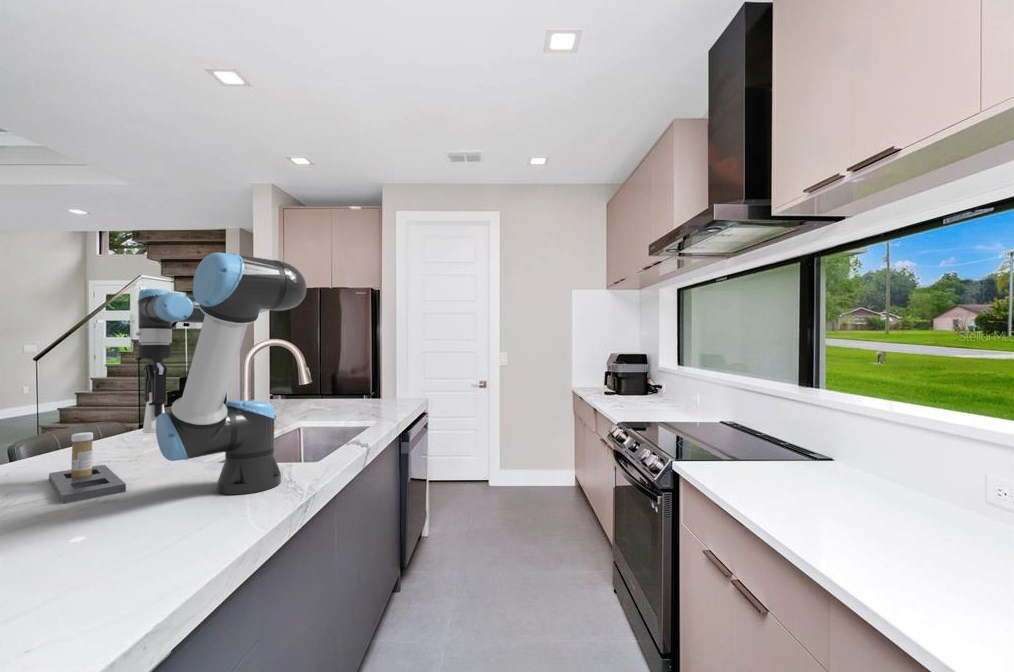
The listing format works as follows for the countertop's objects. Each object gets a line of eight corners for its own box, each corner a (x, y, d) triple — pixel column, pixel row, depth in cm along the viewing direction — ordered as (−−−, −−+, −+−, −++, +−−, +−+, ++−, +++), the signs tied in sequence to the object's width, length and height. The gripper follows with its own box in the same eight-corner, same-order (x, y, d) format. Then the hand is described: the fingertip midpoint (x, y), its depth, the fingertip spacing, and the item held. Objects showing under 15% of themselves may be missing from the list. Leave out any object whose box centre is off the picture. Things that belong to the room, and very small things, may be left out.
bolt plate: (125, 491, 120) (125, 483, 120) (62, 503, 111) (62, 495, 111) (104, 471, 140) (104, 464, 140) (49, 480, 131) (49, 473, 131)
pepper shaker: (153, 429, 132) (153, 391, 132) (171, 429, 131) (171, 391, 132) (137, 433, 126) (137, 393, 126) (156, 433, 126) (156, 393, 126)
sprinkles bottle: (69, 481, 130) (70, 433, 130) (91, 477, 133) (91, 431, 133) (72, 484, 127) (72, 435, 127) (94, 480, 130) (94, 433, 130)
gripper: (131, 344, 132) (131, 426, 131) (146, 343, 121) (145, 432, 120) (163, 344, 138) (163, 422, 137) (179, 343, 127) (179, 428, 126)
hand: (154, 427), depth 129 cm, fingers closed on pepper shaker, 4 cm apart
